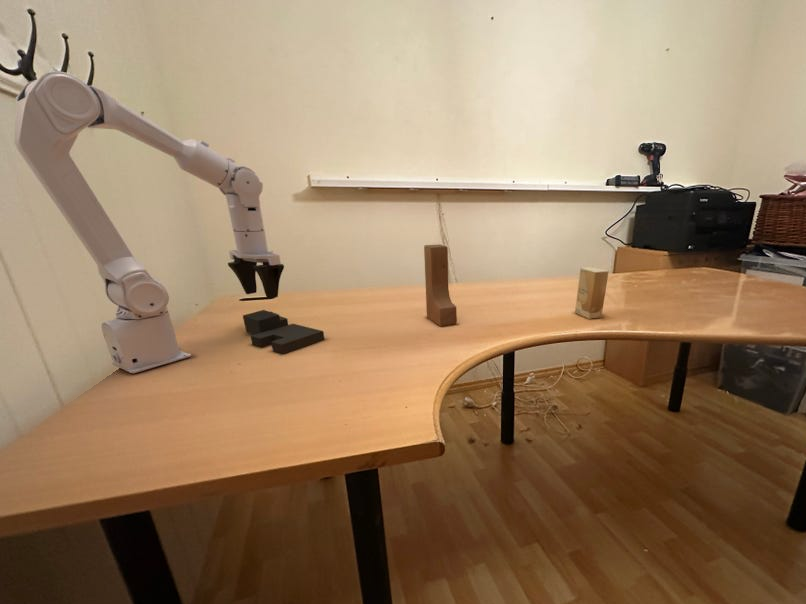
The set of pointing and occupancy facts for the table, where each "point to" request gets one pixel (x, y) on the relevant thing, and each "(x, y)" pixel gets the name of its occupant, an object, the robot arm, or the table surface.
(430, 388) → the table surface
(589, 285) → the cosmetic box
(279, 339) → the base pad
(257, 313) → the pad
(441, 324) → the wooden block
